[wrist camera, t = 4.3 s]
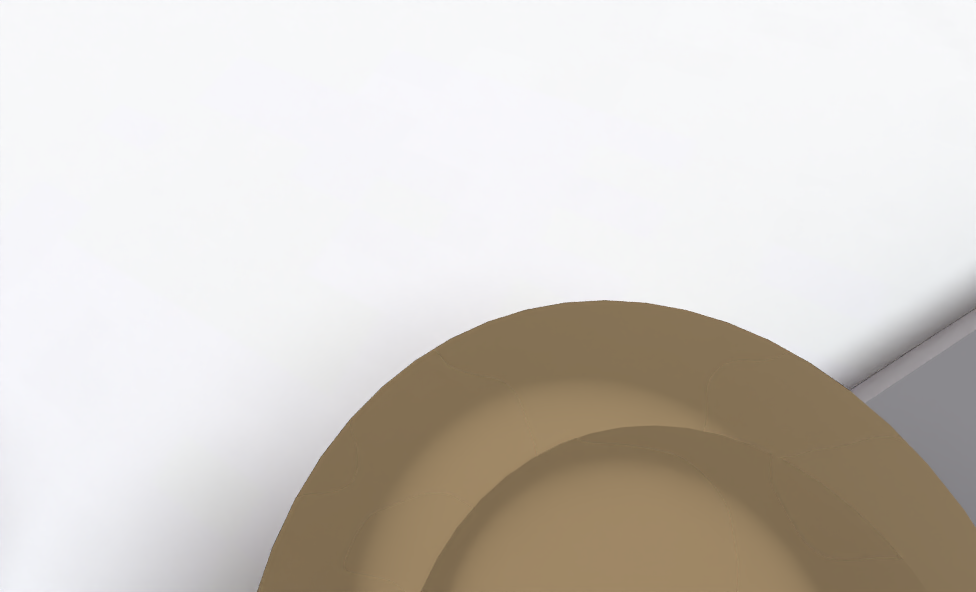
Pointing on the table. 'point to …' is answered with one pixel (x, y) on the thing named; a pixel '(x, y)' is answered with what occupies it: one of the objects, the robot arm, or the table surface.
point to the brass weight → (619, 471)
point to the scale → (935, 405)
